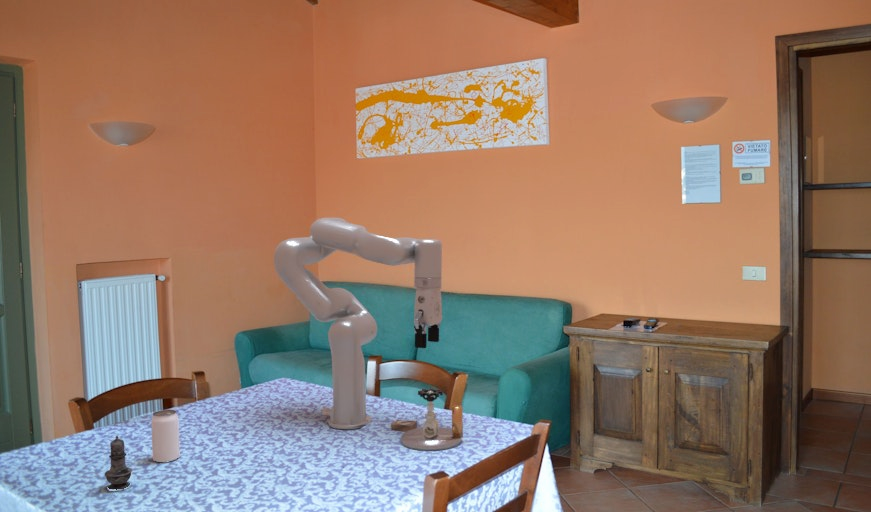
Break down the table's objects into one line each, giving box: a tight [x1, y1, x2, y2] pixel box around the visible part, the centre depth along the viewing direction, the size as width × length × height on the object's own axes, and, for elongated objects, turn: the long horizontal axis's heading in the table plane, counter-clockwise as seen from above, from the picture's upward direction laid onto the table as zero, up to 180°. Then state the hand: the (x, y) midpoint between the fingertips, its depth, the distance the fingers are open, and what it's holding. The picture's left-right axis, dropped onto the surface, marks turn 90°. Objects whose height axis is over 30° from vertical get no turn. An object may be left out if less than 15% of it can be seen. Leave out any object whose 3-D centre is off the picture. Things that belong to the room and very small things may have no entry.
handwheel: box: [400, 404, 464, 452], centre depth 190 cm, size 16×16×9 cm
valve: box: [417, 387, 444, 439], centre depth 190 cm, size 7×7×12 cm
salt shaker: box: [104, 435, 133, 490], centre depth 163 cm, size 6×6×12 cm
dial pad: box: [390, 419, 418, 432], centre depth 202 cm, size 6×5×3 cm
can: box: [150, 409, 181, 463], centre depth 182 cm, size 6×6×12 cm
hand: (427, 344), depth 200 cm, fingers open, 9 cm apart
